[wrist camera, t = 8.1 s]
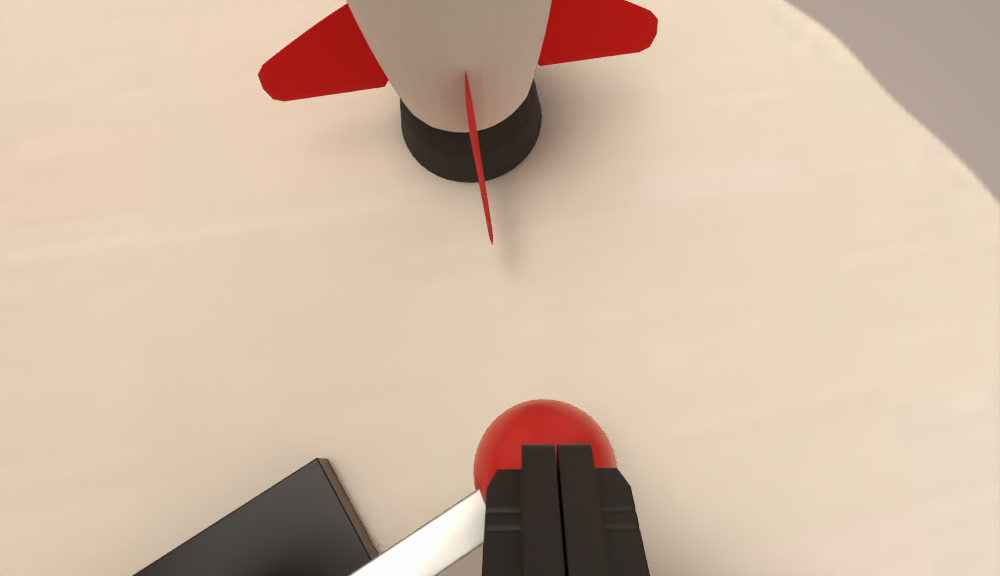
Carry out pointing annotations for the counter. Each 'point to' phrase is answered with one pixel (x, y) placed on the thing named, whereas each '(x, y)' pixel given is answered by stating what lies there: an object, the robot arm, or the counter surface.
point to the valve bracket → (279, 534)
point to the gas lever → (460, 529)
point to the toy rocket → (456, 69)
